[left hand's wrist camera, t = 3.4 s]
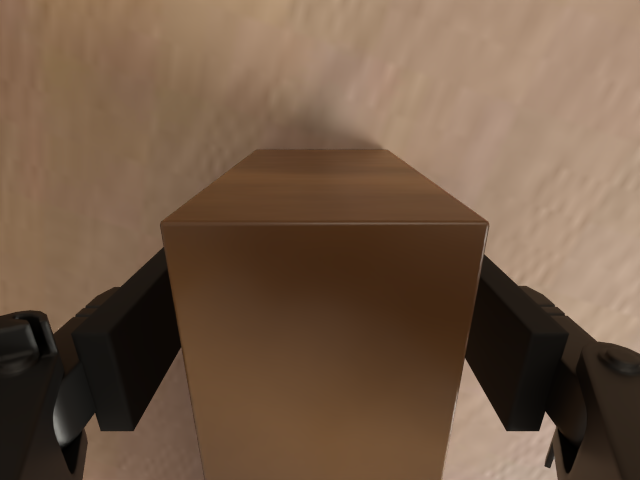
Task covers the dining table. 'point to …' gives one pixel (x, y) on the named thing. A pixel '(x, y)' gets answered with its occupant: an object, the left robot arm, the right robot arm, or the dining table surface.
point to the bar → (324, 315)
